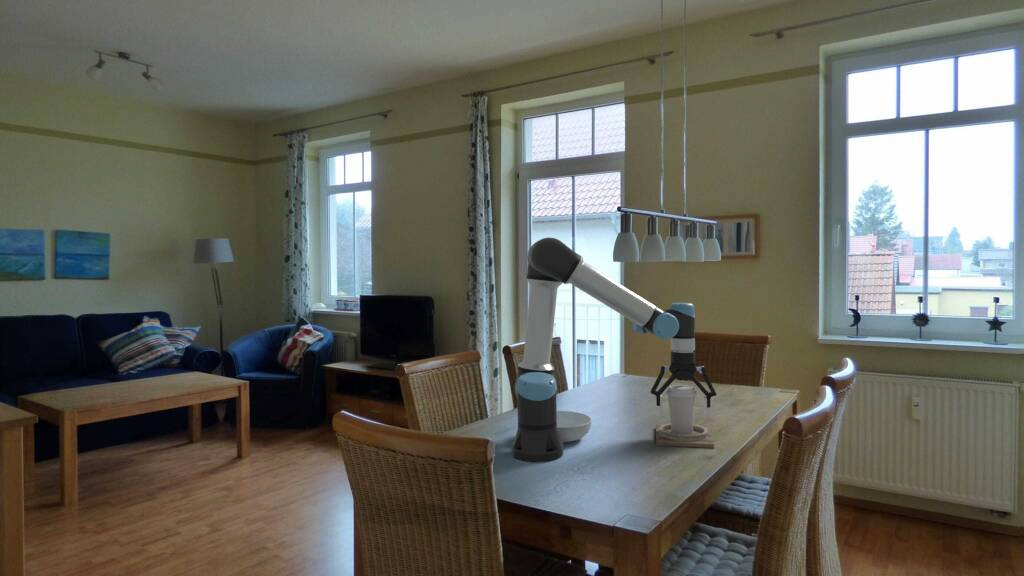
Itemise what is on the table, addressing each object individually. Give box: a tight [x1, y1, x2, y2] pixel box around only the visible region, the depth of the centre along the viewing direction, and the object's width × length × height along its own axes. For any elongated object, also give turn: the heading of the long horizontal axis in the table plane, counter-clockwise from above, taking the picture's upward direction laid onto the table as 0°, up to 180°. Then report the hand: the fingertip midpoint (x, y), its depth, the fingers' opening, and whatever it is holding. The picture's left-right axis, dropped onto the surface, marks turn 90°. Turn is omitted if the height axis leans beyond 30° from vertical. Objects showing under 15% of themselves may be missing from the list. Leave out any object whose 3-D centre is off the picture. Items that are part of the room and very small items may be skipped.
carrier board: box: [655, 422, 715, 449], centre depth 195 cm, size 20×17×3 cm
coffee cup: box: [666, 384, 698, 435], centre depth 194 cm, size 10×10×15 cm
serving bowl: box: [557, 410, 592, 443], centre depth 195 cm, size 21×21×7 cm
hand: (683, 416), depth 194 cm, fingers open, 13 cm apart
